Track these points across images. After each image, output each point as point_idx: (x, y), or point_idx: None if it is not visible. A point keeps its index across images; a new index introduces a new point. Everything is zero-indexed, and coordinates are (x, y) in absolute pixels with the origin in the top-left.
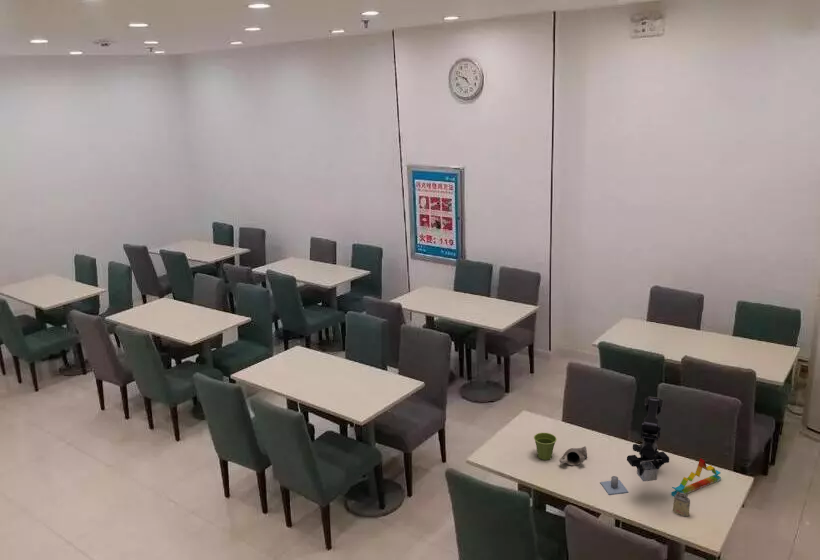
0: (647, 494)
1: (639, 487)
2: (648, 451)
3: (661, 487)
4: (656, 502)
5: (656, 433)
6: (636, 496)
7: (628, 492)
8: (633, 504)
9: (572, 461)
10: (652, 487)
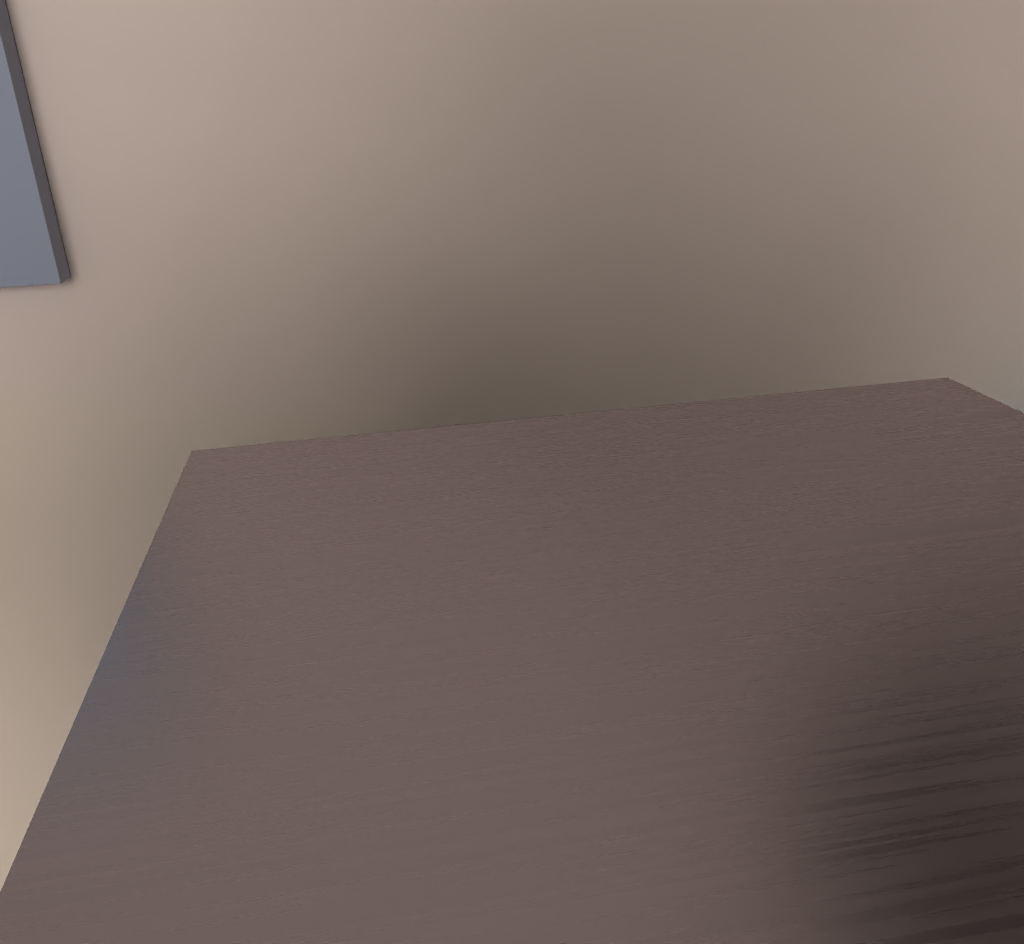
0: (530, 390)
1: (459, 74)
2: None
3: (976, 161)
4: None
5: None
6: (240, 441)
7: (68, 277)
8: (81, 696)
9: None
10: (781, 128)
